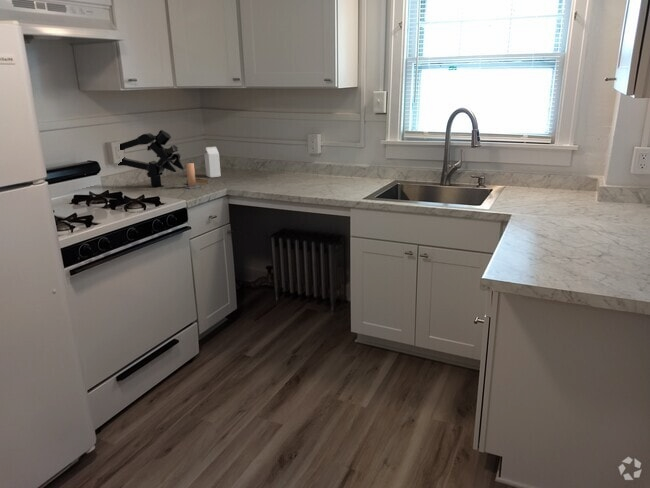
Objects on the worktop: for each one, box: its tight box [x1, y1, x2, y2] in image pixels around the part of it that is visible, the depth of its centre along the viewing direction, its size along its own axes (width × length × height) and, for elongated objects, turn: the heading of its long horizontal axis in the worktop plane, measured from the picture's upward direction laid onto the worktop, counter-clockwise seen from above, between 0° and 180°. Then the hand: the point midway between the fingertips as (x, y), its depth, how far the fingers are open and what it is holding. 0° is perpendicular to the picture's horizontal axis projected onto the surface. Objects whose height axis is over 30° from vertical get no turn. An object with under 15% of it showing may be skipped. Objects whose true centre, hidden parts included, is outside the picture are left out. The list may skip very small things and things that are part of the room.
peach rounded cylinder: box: [185, 162, 196, 187], centre depth 287 cm, size 4×4×13 cm
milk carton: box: [203, 146, 222, 178], centre depth 321 cm, size 7×7×19 cm
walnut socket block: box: [186, 177, 209, 186], centre depth 300 cm, size 9×9×2 cm
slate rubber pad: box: [183, 185, 202, 190], centre depth 289 cm, size 7×7×1 cm
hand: (179, 170), depth 287 cm, fingers open, 9 cm apart
